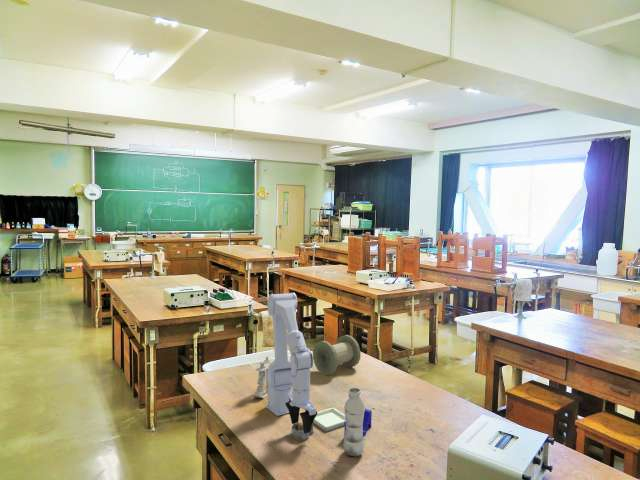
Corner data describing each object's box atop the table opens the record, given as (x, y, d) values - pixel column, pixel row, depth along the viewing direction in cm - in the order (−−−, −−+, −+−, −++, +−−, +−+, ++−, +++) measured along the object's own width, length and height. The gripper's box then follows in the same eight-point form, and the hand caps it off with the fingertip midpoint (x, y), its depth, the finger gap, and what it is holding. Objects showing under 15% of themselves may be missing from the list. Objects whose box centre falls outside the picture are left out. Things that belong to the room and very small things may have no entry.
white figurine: (250, 400, 173) (250, 362, 172) (261, 390, 182) (261, 355, 181) (260, 401, 172) (260, 364, 171) (270, 392, 181) (270, 356, 180)
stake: (296, 435, 147) (296, 423, 147) (301, 433, 148) (301, 422, 148) (299, 437, 145) (299, 426, 145) (304, 436, 147) (305, 424, 146)
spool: (335, 379, 196) (335, 345, 195) (312, 369, 207) (313, 338, 206) (360, 370, 207) (360, 338, 206) (337, 361, 218) (338, 332, 217)
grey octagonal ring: (288, 434, 148) (288, 425, 147) (307, 428, 152) (307, 419, 152) (297, 442, 143) (298, 433, 143) (316, 435, 147) (316, 426, 147)
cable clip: (355, 442, 143) (356, 424, 143) (344, 438, 146) (344, 420, 146) (375, 428, 153) (375, 411, 152) (363, 424, 155) (364, 408, 155)
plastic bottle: (362, 447, 140) (363, 385, 139) (365, 459, 133) (366, 395, 132) (342, 447, 140) (343, 385, 138) (344, 459, 133) (345, 395, 132)
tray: (308, 418, 159) (308, 414, 159) (333, 411, 165) (333, 407, 165) (326, 431, 150) (326, 427, 150) (351, 423, 156) (351, 419, 156)
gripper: (279, 383, 149) (279, 422, 150) (302, 398, 137) (302, 440, 138) (297, 378, 153) (297, 416, 154) (321, 393, 141) (320, 434, 142)
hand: (300, 427), depth 147 cm, fingers open, 7 cm apart
